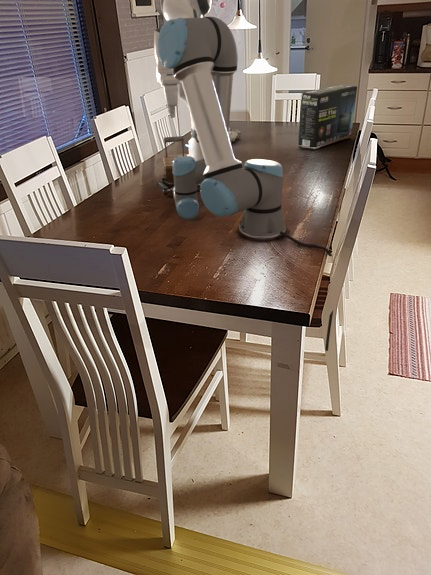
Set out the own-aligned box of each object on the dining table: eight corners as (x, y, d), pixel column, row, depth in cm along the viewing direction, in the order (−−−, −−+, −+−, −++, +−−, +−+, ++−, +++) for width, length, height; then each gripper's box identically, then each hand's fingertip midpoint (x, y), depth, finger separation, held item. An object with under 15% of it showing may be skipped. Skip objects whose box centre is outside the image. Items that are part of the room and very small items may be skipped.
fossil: (231, 138, 245) (212, 120, 248) (221, 154, 251) (202, 137, 255) (247, 136, 258) (229, 120, 262) (237, 152, 265) (220, 136, 268)
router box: (314, 151, 231) (318, 94, 217) (296, 148, 237) (299, 92, 224) (352, 138, 251) (358, 85, 238) (335, 135, 258) (340, 83, 245)
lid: (162, 158, 190) (160, 136, 185) (186, 156, 191) (184, 134, 186) (165, 168, 176) (163, 145, 172) (190, 166, 177) (189, 143, 173)
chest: (165, 184, 195) (162, 158, 189) (188, 182, 196) (186, 156, 190) (168, 196, 182) (165, 169, 176) (192, 194, 183) (190, 166, 177)
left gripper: (158, 73, 180) (161, 111, 187) (161, 80, 163) (165, 120, 170) (174, 73, 181) (177, 110, 188) (179, 79, 164) (182, 119, 171)
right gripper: (153, 208, 164) (150, 188, 183) (215, 202, 167) (206, 183, 186) (151, 187, 160) (148, 169, 179) (214, 182, 163) (205, 164, 182)
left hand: (171, 115), depth 179 cm, fingers open, 8 cm apart
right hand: (178, 176), depth 182 cm, fingers closed on chest, 10 cm apart
